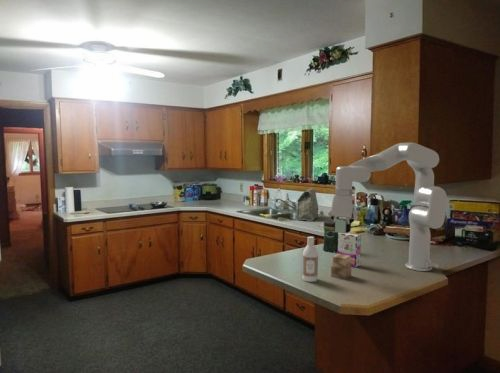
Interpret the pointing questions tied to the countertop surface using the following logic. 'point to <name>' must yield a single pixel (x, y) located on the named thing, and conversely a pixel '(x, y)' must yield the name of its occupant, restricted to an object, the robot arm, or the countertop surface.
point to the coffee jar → (330, 237)
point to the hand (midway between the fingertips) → (342, 230)
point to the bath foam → (310, 262)
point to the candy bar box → (350, 247)
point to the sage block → (340, 225)
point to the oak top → (341, 261)
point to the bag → (307, 206)
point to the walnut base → (341, 272)
